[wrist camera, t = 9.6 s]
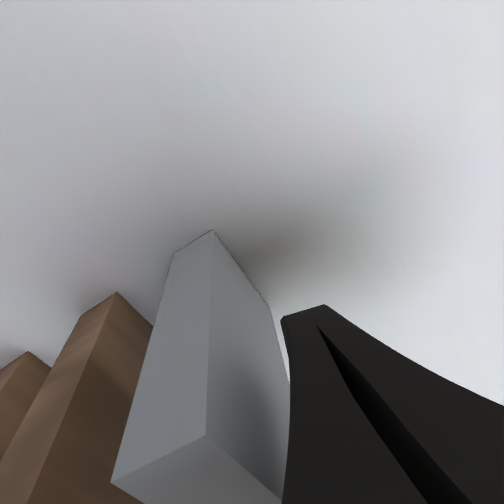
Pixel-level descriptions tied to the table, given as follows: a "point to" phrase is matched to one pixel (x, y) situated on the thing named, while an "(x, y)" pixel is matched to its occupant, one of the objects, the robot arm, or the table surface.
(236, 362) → the domino
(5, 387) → the domino
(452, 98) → the table surface
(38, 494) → the domino
